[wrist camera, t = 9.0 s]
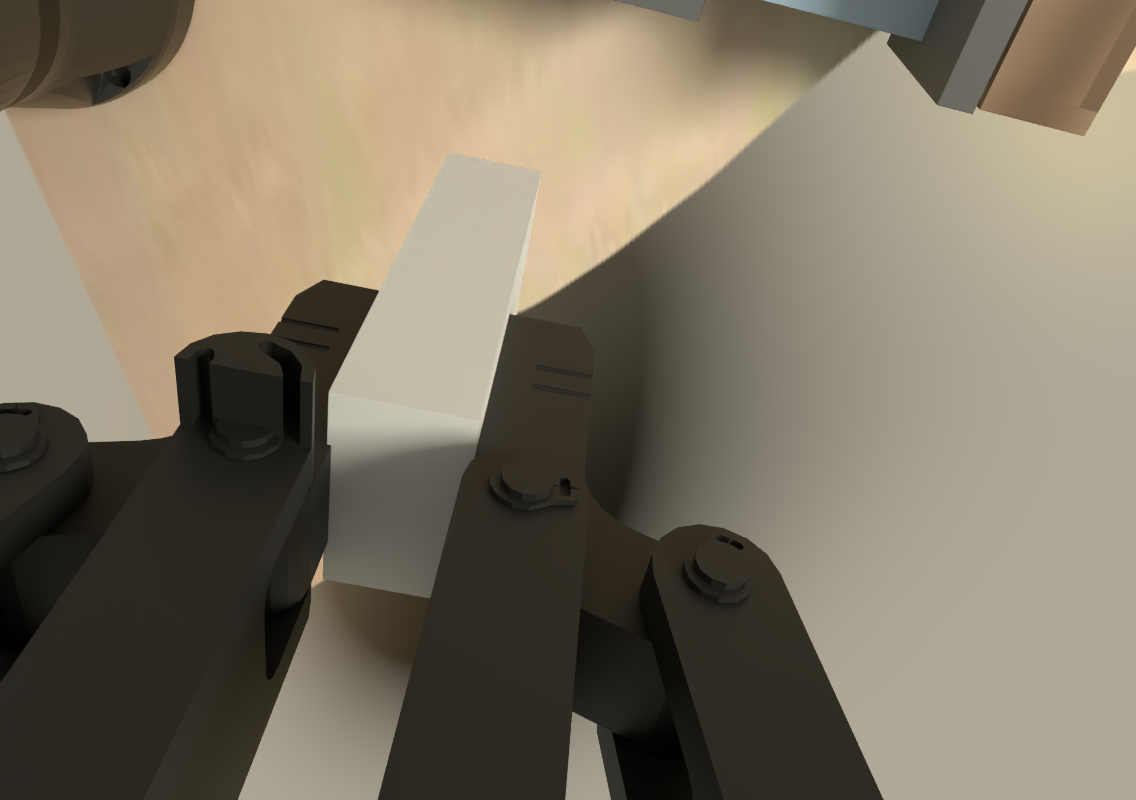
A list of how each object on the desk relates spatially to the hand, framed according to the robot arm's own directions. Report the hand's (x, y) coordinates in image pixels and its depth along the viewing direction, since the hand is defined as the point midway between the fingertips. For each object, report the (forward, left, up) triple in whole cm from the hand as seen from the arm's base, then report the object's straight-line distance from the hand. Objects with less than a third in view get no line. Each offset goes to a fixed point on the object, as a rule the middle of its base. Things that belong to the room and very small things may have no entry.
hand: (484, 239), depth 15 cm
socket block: (+19, +2, -32) cm, 37 cm away
